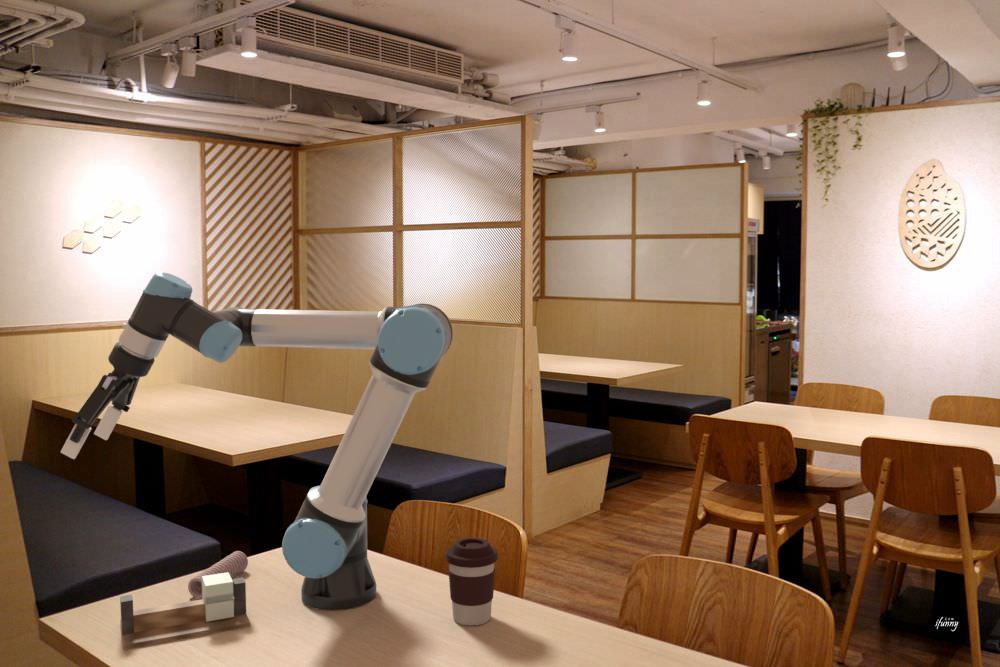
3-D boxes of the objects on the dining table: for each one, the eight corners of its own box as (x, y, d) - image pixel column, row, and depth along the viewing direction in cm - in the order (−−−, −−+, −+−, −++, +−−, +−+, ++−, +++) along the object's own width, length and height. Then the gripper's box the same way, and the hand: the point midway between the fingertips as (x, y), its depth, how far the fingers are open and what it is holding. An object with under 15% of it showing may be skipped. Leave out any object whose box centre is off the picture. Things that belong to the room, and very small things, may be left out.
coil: (206, 581, 174) (251, 551, 192) (185, 576, 175) (232, 548, 193) (204, 603, 175) (249, 571, 192) (184, 598, 176) (230, 568, 193)
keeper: (229, 606, 169) (228, 572, 169) (233, 616, 164) (233, 581, 164) (202, 610, 167) (201, 576, 166) (206, 621, 162) (205, 586, 161)
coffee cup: (508, 618, 166) (508, 542, 165) (471, 634, 159) (471, 555, 158) (471, 604, 173) (471, 531, 172) (435, 619, 166) (435, 543, 165)
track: (239, 603, 173) (239, 569, 173) (250, 626, 163) (249, 590, 162) (120, 623, 164) (119, 588, 163) (123, 649, 153) (122, 611, 152)
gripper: (144, 331, 173) (96, 420, 176) (88, 349, 149) (33, 453, 151) (177, 349, 174) (129, 438, 176) (127, 371, 149) (71, 474, 151)
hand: (84, 445), depth 163 cm, fingers open, 13 cm apart
